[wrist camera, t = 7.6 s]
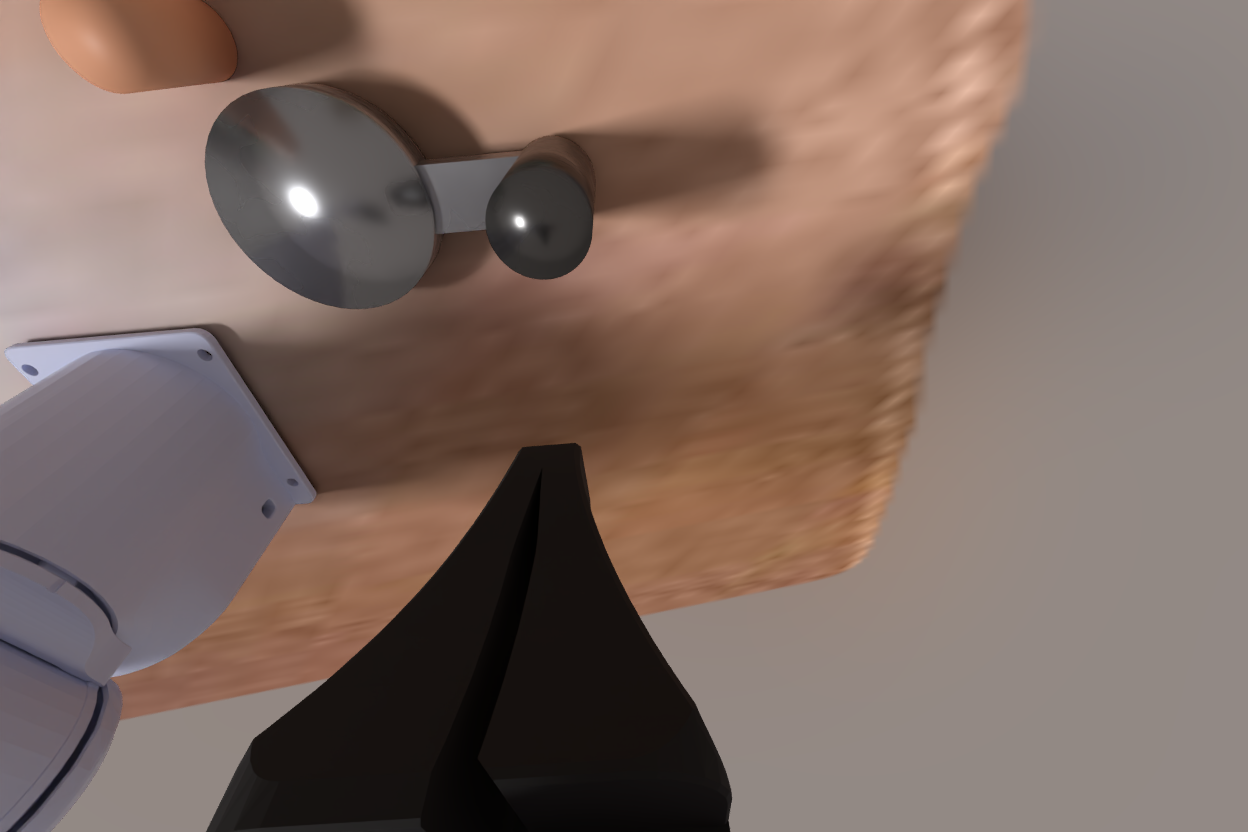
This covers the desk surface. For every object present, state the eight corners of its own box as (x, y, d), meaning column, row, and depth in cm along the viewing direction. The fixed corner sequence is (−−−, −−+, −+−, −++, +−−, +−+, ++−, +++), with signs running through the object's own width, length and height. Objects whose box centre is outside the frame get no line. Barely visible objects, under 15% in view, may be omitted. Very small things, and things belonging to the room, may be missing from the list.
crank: (294, 299, 18) (209, 372, 14) (188, 94, 14) (30, 116, 10) (605, 272, 18) (604, 339, 14) (582, 56, 14) (574, 64, 10)
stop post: (251, 78, 14) (167, 89, 12) (184, 85, 14) (85, 97, 12) (211, -11, 13) (107, -23, 10) (138, -4, 13) (15, -14, 10)
